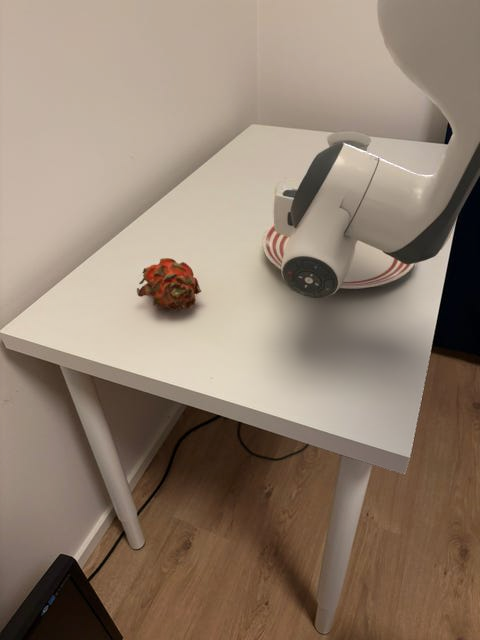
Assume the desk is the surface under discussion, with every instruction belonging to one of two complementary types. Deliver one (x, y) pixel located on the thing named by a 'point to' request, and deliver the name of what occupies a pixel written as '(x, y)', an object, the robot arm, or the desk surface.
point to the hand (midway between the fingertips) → (346, 181)
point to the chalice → (350, 139)
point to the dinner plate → (365, 267)
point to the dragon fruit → (170, 285)
